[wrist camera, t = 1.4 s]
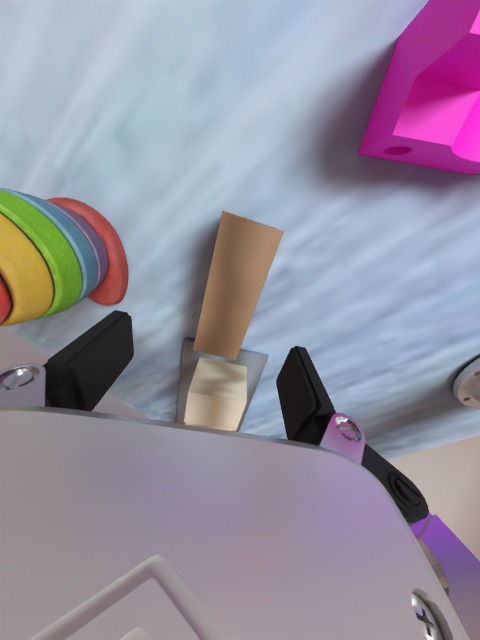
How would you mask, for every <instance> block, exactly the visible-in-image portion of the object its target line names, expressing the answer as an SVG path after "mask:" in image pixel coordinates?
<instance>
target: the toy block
mask: <svg viewBox="0 0 480 640" xmlns="http://www.w3.org/2000/svg"><path fill="white" fill-rule="evenodd" d="M358 154H359V155H365V156H370V157H376V158H381V159H387V160H392V161H397V162H403V163H408V164H414V165H419V166H425V167H430V168H436V169H441V170H446V171H452V172H457V173H463V174H468V175H474V174H479V173H480V0H429V2H428V3H427V4H426V5H425V6H424V8H423V9H422V10H421V11H420V12H419V13H418V15H417V16H416V17H415V18H414V19H413V21H412V22H411V23H410V24H409V25H408V27H407V28H406V29H405V30H404V31H403V32H402V34H401V35H400V36H399V38H398V41H397V44H396V47H395V49H394V52H393V55H392V58H391V61H390V64H389V67H388V70H387V72H386V75H385V78H384V81H383V84H382V87H381V90H380V92H379V95H378V98H377V101H376V104H375V107H374V110H373V112H372V115H371V118H370V121H369V124H368V127H367V130H366V133H365V135H364V138H363V141H362V144H361V147H360V150H359V153H358Z"/></svg>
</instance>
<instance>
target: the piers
mask: <svg viewBox="0 0 480 640" xmlns="http://www.w3.org/2000/svg"><path fill="white" fill-rule="evenodd" d="M194 342H195V340H194V339H189V338H185V339H184V342H183V352H182V363H181V373H180V383H179V393H178V404H177V414H176V423H179V424H186V425H192V426H199V427H206V428H213V429H220V430H227V431H234V432H239V429H240V427H241V424H242V422H243V419H244V417H245V414H246V412H247V409H248V407H249V404H250V402H251V399H252V397H253V394H254V392H255V389H256V387H257V384H258V382H259V379H260V377H261V374H262V372H263V369H264V367H265V364H266V362H267V359H268V354H263V353H258V352H253V351H248V350H243V349H240V350H239V353H238V356H237V358H236V360H232V359H228V358H224V357H220V356H216V355H212V354H208V353H204V352H199V351H195V350H193V347H194Z"/></svg>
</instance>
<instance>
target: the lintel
mask: <svg viewBox="0 0 480 640" xmlns="http://www.w3.org/2000/svg"><path fill="white" fill-rule="evenodd" d="M282 235H283V231H281V230H278V229H276V228H273V227H270V226H267V225H264V224H261V223H258V222H255V221H252V220H249V219H246V218H243V217H240V216H237V215H234V214H231V213H229V212H224V211H222V215H221V220H220V225H219V229H218V234H217V239H216V243H215V248H214V253H213V258H212V262H211V267H210V272H209V276H208V281H207V286H206V291H205V295H204V300H203V305H202V309H201V314H200V319H199V324H198V328H197V333H196V338H195V342H194V347H193V350H195V351H199V352H204V353H208V354H212V355H216V356H220V357H224V358H228V359H232V360H236V358H237V356H238V353H239V350H240V348H241V345H242V342H243V339H244V337H245V334H246V331H247V329H248V326H249V323H250V321H251V318H252V315H253V313H254V310H255V307H256V305H257V302H258V299H259V297H260V294H261V291H262V288H263V286H264V283H265V280H266V278H267V275H268V272H269V270H270V267H271V264H272V262H273V259H274V256H275V254H276V251H277V248H278V245H279V243H280V240H281V237H282Z"/></svg>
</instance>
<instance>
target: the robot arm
mask: <svg viewBox="0 0 480 640" xmlns="http://www.w3.org/2000/svg"><path fill="white" fill-rule="evenodd" d="M133 355H134V348H133V334H132V320H131V316H129V315H128V313H127V312H122V311H117V310H115V311H113V312H112V313H110V314H109V315H108V316H106V317H105V318H104V319H102V320H101V321H100V322H98V323H97V324H96V325H94V326H93V327H92V328H90V329H89V330H88V331H86V332H85V333H83V334H82V335H81V336H79V337H78V338H77V339H75V340H74V341H73V342H71V343H70V344H69V345H67V346H66V347H65V348H63V349H62V350H61V351H59V352H58V353H57V354H55V355H54V356H52V357H51V358H50V359H48V362H47V363H46V364H45V365H43V366H42V365H40V364H35V363H27V364H20V365H16V366H13V367H9V368H7V369H5V370H2V371H0V640H480V561H479V560H478V559H477V558H476V557H475V556H474V555H473V554H472V553H471V552H470V550H469V549H468V548H467V547H466V546H465V545H464V544H463V543H462V542H461V541H460V540H459V539H458V538H457V537H456V535H454V533H453V532H452V531H451V530H450V529H449V528H448V527H447V526H446V525H445V524H444V523H443V522H442V520H441V519H440V518H439V517H438V516H437V515H433V516H432V515H431V514H430V513H429V510H428V505H427V503H426V501H425V498H424V497H423V495H422V494H421V492H420V491H419V489H418V488H417V487H416V486H415V485H414V484H413V482H412V481H410V480H409V479H408V478H407V477H406V476H405V475H404V474H402V473H401V472H400V471H399V470H397V469H396V468H395V467H394V466H393V465H391V464H390V463H389V462H388V461H386V460H385V459H384V458H383V457H382V456H380V455H379V454H378V453H377V452H375V451H374V450H373V449H372V448H370V447H369V446H368V445H367V444H366V443H365V435H364V432H363V431H362V429H361V427H360V426H359V425H358V424H357V423H356V422H355V421H354V420H353V419H352V418H350V417H348V416H347V415H344V414H341V413H336V412H335V410H334V407H333V405H332V402H331V400H330V398H329V396H328V394H327V392H326V390H325V388H324V386H323V384H322V381H321V379H320V377H319V375H318V373H317V371H316V369H315V367H314V365H313V363H312V360H311V358H310V356H309V354H308V352H307V350H306V348H303V347H298V346H295V347H294V348H291V350H290V352H289V354H288V356H287V358H286V360H285V363H284V365H283V367H282V369H281V371H280V373H279V375H278V378H277V381H276V384H277V389H278V394H279V399H280V404H281V409H282V414H283V419H284V424H285V429H286V434H287V438H288V440H285V439H280V438H274V437H267V436H260V435H254V434H247V433H240V432H234V431H227V430H220V429H213V428H206V427H199V426H192V425H186V424H179V423H172V422H165V421H157V420H150V419H142V418H136V417H129V416H121V415H114V414H107V413H99V412H91V411H92V410H93V409H94V407H95V406H96V405H97V404H98V402H99V401H100V400H101V398H102V397H103V396H104V394H105V393H106V392H107V391H108V389H109V388H110V387H111V385H112V384H113V383H114V382H115V380H116V379H117V378H118V376H119V375H120V374H121V372H122V371H123V370H124V369H125V367H126V366H127V365H128V363H129V362H130V361H131V359H132V358H133ZM453 393H454V396H455V397H456V398H457V399H458V400H459V401H460V402H462V403H463V404H464V405H466V406H469V407H472V408H477V409H480V358H478V359H477V360H475V361H473V362H472V363H471V364H469V365H468V366H467V367H466V368H465V369H464V370H463V371H462V372H461V373H460V374H459V375H458V377H457V378H456V380H455V382H454V385H453Z"/></svg>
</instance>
